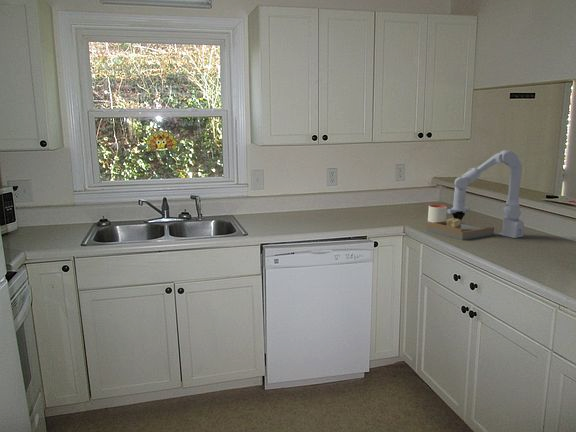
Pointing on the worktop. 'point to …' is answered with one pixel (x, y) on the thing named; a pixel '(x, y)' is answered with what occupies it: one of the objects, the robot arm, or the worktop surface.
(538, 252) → the worktop surface
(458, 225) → the block
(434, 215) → the cup
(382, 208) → the worktop surface
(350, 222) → the worktop surface
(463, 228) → the trap board
